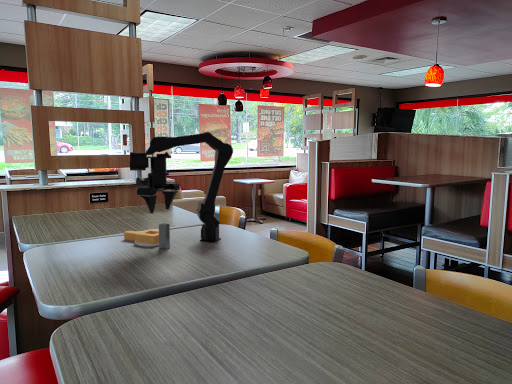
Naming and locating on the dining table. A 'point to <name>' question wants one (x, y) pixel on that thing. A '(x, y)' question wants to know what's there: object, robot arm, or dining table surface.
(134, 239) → the bracket
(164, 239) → the dark grey post
